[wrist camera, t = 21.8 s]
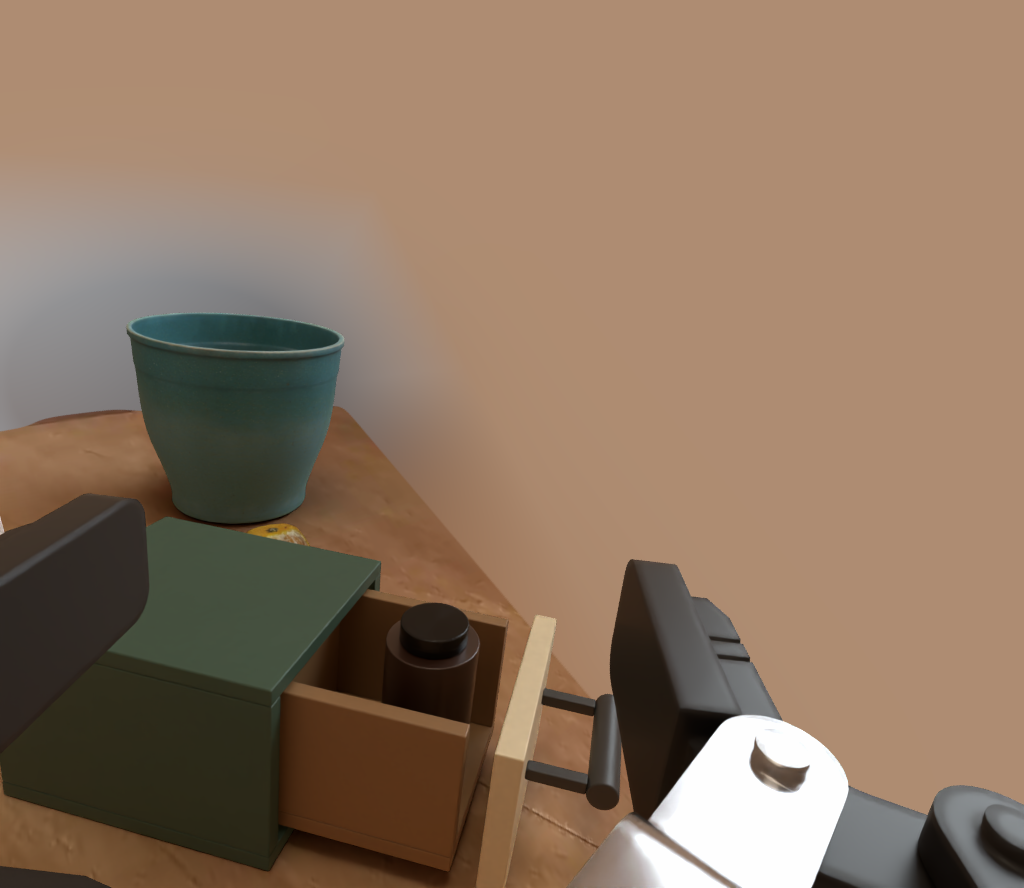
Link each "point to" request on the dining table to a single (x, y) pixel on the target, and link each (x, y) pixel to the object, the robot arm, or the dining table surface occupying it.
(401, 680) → the pepper mill
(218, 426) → the flower pot
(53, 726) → the cabinet
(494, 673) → the drawer
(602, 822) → the dining table surface
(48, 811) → the dining table surface
